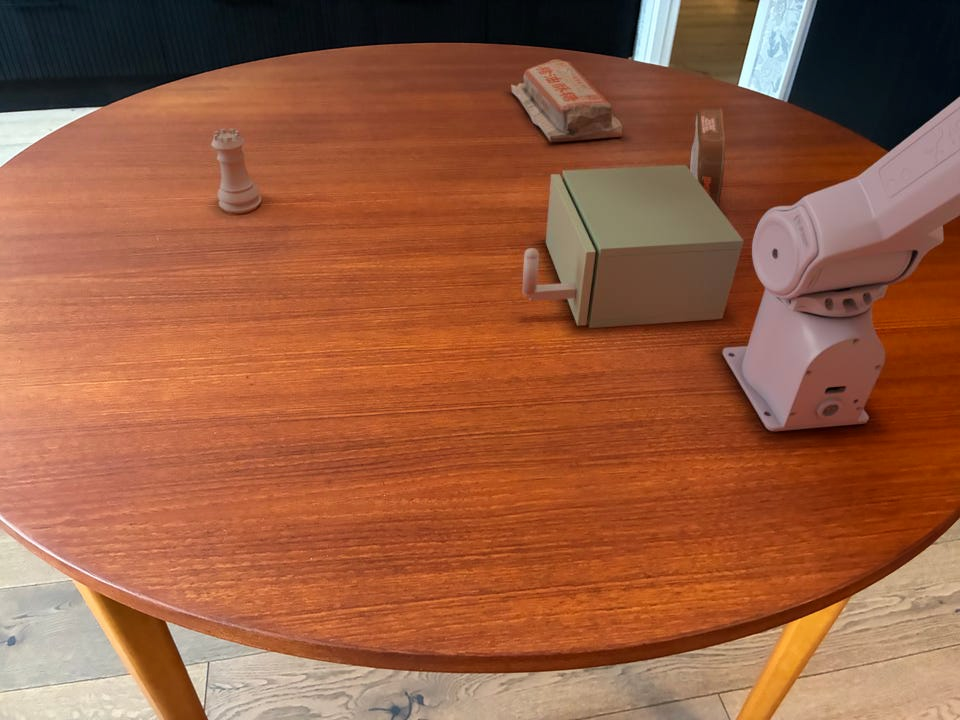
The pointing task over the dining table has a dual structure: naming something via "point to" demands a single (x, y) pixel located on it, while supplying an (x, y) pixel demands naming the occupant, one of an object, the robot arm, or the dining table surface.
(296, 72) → the dining table surface
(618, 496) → the dining table surface
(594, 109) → the packaged product
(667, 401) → the dining table surface
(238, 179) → the rook chess piece
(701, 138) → the tin
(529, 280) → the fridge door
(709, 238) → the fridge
